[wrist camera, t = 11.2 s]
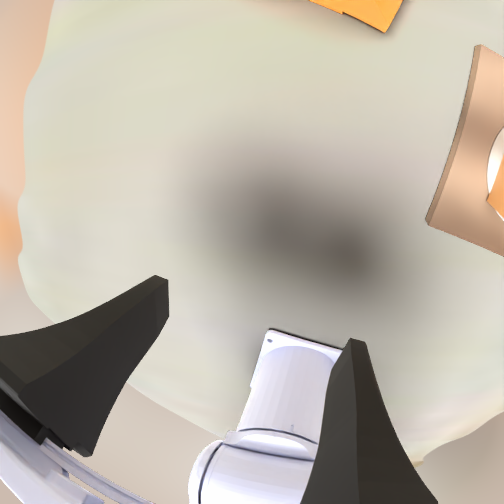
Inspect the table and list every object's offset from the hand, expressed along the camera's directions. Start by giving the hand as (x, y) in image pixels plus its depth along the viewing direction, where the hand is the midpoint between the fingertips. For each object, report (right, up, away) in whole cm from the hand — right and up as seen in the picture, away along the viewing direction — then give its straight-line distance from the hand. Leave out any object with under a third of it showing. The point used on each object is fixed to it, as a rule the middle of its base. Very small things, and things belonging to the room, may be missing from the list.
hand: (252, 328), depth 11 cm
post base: (+18, +8, +2) cm, 20 cm away
